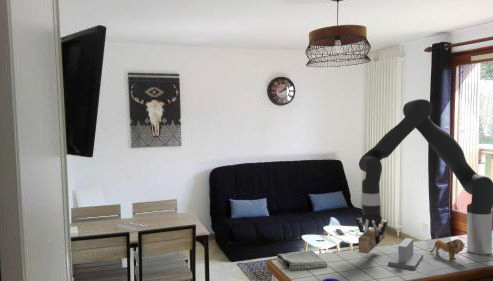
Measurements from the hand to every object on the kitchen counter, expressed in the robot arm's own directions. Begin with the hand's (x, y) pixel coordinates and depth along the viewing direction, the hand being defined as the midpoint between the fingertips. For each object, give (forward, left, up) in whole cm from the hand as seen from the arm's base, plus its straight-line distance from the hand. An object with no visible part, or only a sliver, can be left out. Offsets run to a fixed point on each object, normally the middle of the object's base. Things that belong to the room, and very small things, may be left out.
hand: (372, 243), depth 167 cm
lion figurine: (-15, +26, -7) cm, 31 cm away
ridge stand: (-3, +13, -7) cm, 15 cm away
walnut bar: (0, 0, -1) cm, 1 cm away
